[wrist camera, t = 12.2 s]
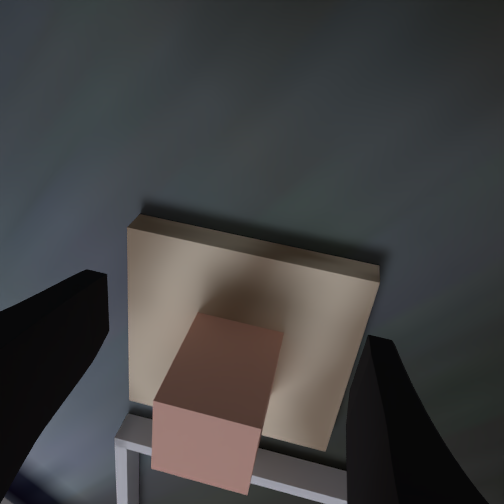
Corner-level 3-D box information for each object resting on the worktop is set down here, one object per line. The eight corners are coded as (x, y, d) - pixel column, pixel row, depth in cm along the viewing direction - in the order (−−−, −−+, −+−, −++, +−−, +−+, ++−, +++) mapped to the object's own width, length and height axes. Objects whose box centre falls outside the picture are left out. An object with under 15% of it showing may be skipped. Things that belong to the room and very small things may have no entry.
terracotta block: (284, 332, 24) (261, 429, 19) (270, 394, 26) (247, 495, 21) (197, 312, 25) (153, 400, 20) (192, 374, 27) (151, 468, 22)
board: (379, 265, 23) (379, 282, 22) (327, 430, 29) (325, 451, 28) (139, 213, 24) (126, 227, 23) (139, 382, 30) (129, 400, 29)
